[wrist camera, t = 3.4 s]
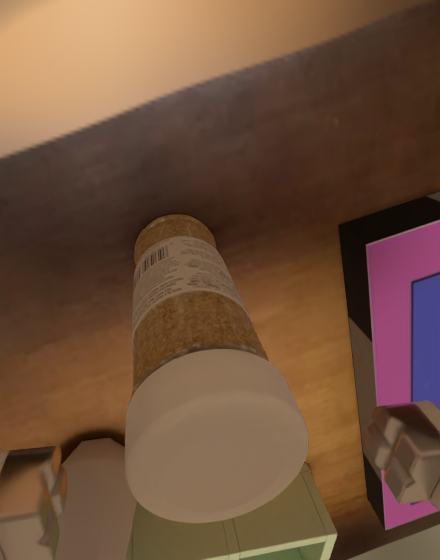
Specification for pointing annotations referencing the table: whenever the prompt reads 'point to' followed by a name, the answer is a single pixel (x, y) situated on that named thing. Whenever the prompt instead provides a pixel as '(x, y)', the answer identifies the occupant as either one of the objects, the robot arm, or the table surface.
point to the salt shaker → (96, 504)
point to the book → (393, 324)
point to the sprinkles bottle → (202, 387)
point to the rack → (243, 531)
